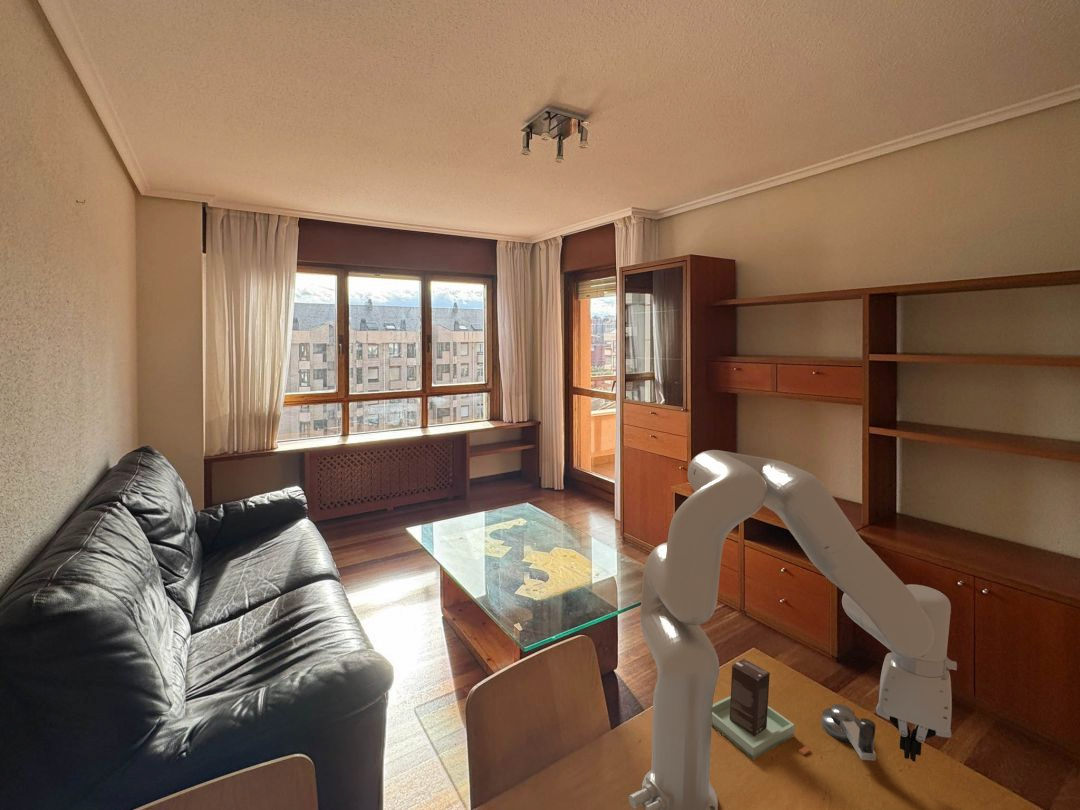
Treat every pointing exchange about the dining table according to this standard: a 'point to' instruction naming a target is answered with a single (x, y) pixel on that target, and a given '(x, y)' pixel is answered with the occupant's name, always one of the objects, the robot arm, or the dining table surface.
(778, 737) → the tray
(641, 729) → the dining table surface
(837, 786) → the dining table surface
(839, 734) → the crank base
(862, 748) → the crank
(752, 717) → the box
